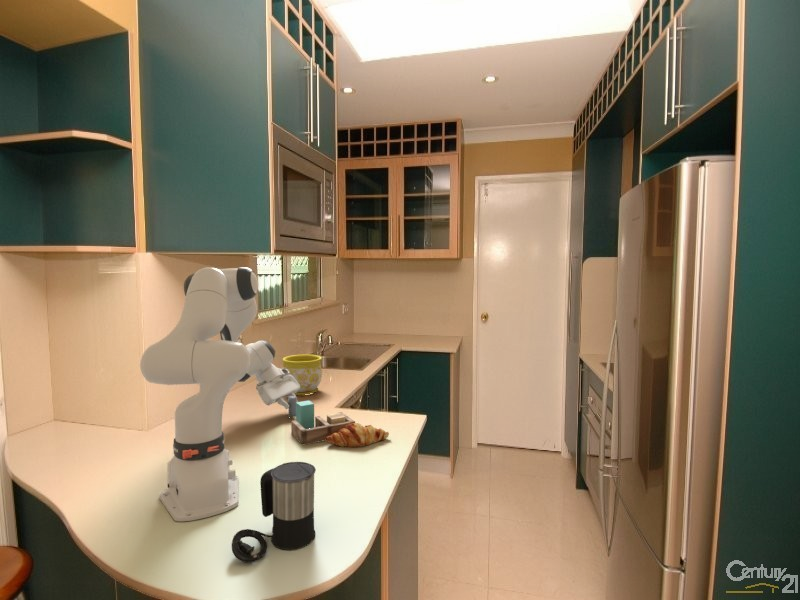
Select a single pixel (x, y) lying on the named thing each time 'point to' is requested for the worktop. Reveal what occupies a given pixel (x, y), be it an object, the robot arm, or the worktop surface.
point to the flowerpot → (304, 371)
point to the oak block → (335, 418)
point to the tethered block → (302, 412)
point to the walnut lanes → (317, 429)
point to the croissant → (357, 435)
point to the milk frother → (283, 510)
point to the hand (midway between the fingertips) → (292, 405)
